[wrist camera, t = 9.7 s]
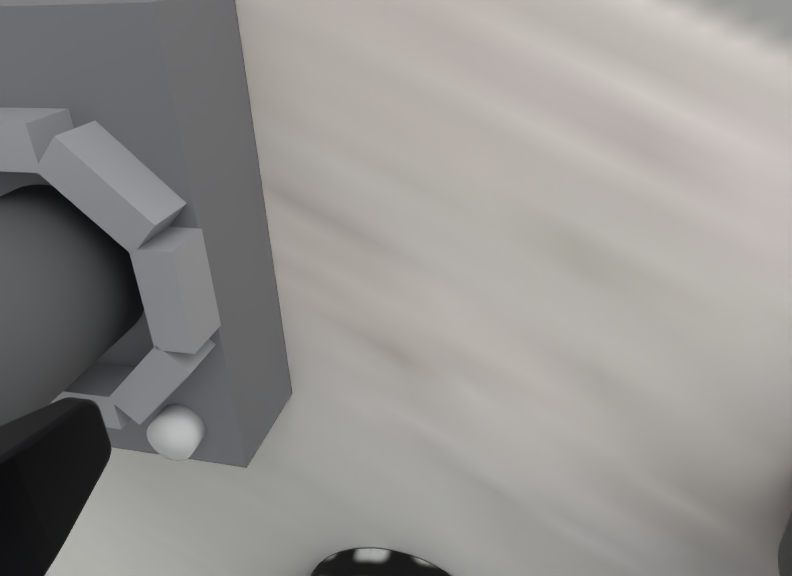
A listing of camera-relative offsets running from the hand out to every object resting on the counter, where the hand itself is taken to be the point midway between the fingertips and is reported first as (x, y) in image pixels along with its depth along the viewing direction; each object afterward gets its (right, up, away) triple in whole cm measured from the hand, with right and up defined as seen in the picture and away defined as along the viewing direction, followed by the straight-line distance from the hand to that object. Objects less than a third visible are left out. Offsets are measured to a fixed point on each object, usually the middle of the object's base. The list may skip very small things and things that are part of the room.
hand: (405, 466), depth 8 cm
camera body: (-9, +5, +14) cm, 17 cm away
